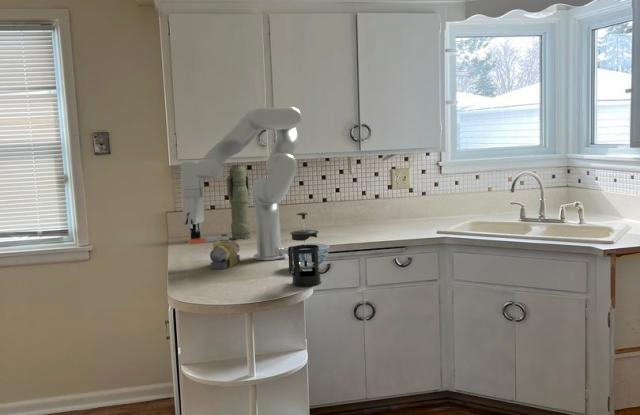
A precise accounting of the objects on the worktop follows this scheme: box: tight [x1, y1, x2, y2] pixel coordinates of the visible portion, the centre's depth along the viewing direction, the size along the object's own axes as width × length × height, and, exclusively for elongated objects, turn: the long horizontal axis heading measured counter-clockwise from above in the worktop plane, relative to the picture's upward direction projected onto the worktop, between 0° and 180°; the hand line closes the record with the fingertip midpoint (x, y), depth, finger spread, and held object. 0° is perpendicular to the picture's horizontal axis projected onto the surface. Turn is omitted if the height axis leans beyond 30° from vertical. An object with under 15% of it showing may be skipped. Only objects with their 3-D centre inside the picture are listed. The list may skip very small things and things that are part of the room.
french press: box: [287, 212, 322, 288], centre depth 206 cm, size 12×9×23 cm
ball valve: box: [209, 239, 241, 270], centre depth 244 cm, size 7×16×9 cm, turn 164°
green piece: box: [226, 164, 251, 240], centre depth 307 cm, size 9×12×35 cm
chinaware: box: [288, 242, 330, 271], centre depth 232 cm, size 15×15×8 cm
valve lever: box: [187, 233, 230, 245], centre depth 241 cm, size 15×4×2 cm, turn 113°
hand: (196, 242), depth 242 cm, fingers closed
